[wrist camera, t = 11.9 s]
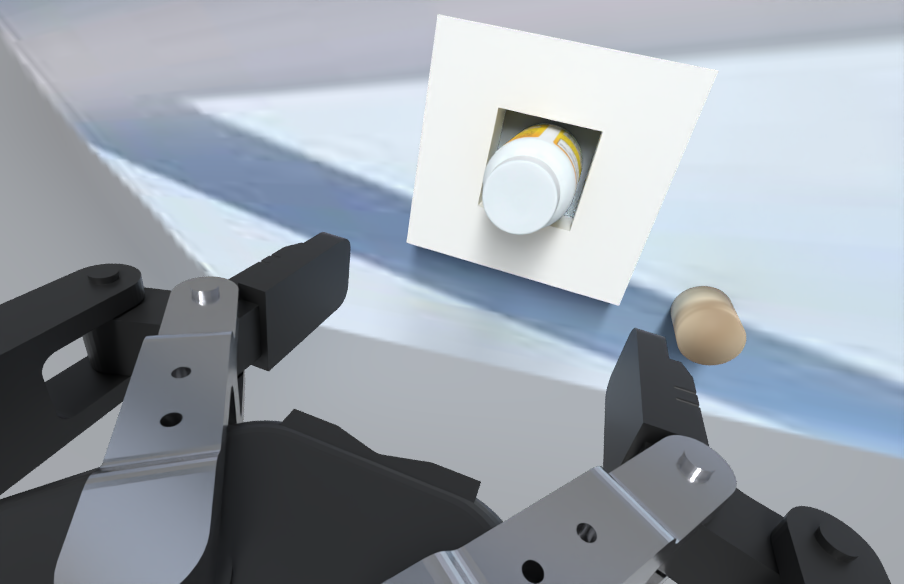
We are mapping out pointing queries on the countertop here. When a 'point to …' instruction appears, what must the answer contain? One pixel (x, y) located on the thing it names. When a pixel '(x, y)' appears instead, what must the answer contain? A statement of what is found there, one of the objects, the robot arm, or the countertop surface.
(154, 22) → the countertop surface
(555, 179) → the supplement bottle
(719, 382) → the countertop surface
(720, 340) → the short birch peg
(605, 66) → the collar block
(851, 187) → the countertop surface
